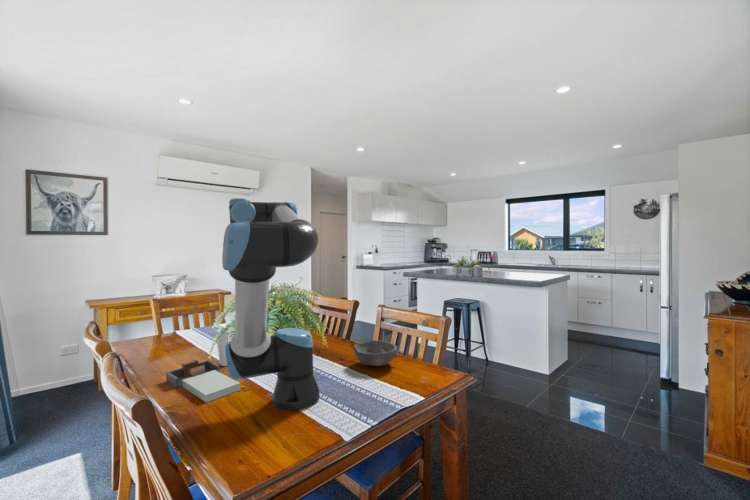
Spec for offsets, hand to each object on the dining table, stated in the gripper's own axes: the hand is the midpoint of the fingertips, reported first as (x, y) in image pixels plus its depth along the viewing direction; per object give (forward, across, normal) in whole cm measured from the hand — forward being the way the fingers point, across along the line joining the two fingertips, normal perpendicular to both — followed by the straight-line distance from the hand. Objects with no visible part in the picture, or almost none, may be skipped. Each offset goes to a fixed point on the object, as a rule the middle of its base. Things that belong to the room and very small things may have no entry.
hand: (244, 303), depth 133 cm
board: (+29, +4, +12) cm, 32 cm away
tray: (+29, +19, +12) cm, 37 cm away
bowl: (+30, -28, -42) cm, 59 cm away
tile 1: (+26, +20, +12) cm, 35 cm away
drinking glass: (+30, +23, -3) cm, 38 cm away
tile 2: (+28, +16, +12) cm, 34 cm away
